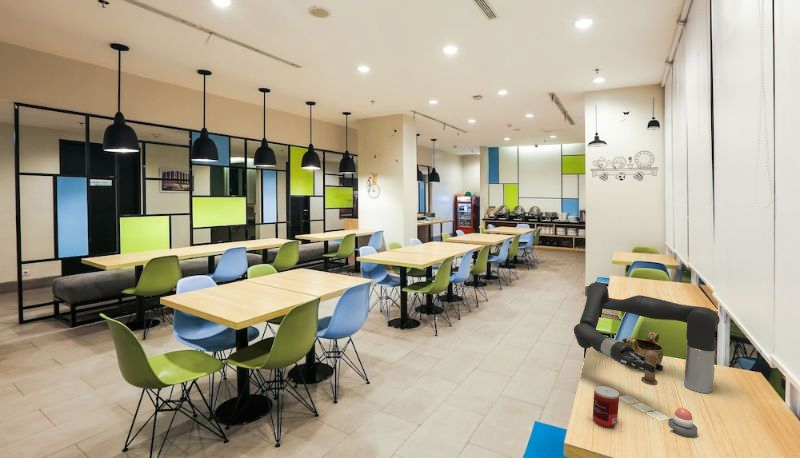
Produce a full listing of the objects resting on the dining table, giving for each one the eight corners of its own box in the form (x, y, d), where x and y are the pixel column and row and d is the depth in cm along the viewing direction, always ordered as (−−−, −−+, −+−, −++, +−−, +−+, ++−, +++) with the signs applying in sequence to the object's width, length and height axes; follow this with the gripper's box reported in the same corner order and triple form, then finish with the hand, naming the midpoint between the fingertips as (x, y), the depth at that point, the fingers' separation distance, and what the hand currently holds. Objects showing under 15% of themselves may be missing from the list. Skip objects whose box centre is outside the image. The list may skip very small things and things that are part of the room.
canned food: (615, 418, 141) (617, 387, 140) (619, 430, 134) (621, 398, 133) (591, 413, 144) (592, 384, 143) (593, 425, 136) (595, 394, 135)
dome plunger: (680, 417, 137) (681, 403, 137) (696, 426, 133) (697, 411, 132) (669, 420, 136) (670, 406, 135) (685, 428, 131) (686, 414, 130)
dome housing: (678, 422, 139) (679, 416, 139) (702, 435, 132) (703, 429, 132) (662, 425, 137) (662, 420, 137) (685, 439, 129) (686, 433, 129)
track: (628, 396, 157) (628, 393, 157) (674, 421, 140) (674, 418, 140) (613, 399, 154) (613, 396, 154) (657, 425, 137) (658, 422, 137)
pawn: (647, 377, 148) (650, 347, 147) (660, 384, 143) (663, 353, 142) (637, 379, 146) (640, 349, 145) (650, 386, 141) (653, 354, 140)
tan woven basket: (646, 379, 173) (649, 345, 172) (608, 364, 187) (610, 333, 186) (672, 368, 184) (674, 336, 183) (634, 355, 199) (636, 326, 198)
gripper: (629, 357, 160) (671, 376, 144) (602, 362, 155) (643, 382, 139) (630, 339, 159) (673, 356, 143) (603, 343, 154) (644, 361, 138)
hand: (658, 369), depth 141 cm, fingers closed on pawn, 3 cm apart
